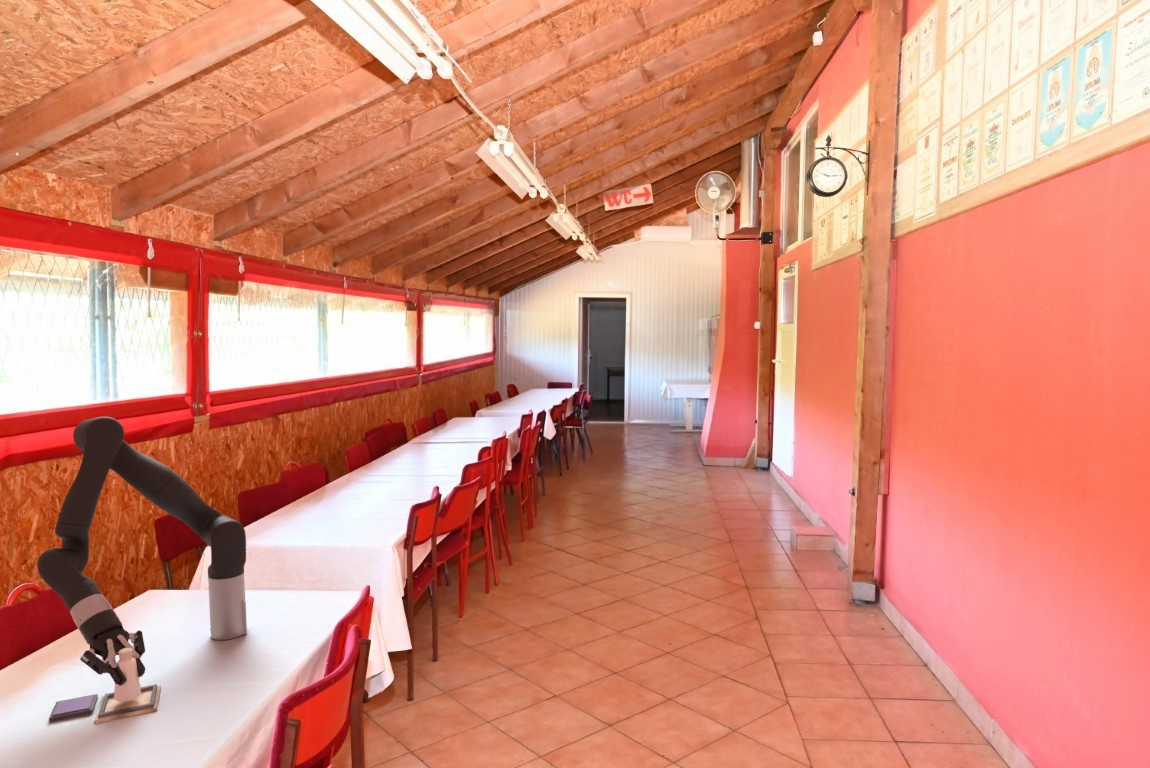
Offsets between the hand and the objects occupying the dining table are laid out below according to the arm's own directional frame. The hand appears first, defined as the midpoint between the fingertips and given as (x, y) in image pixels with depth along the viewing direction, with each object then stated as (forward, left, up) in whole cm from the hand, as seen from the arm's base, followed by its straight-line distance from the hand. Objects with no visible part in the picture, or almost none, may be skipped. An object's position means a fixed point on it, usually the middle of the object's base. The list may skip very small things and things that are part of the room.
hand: (132, 678), depth 167 cm
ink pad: (+12, -4, -7) cm, 14 cm away
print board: (+1, -1, -7) cm, 7 cm away
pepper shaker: (+1, -2, -5) cm, 5 cm away
